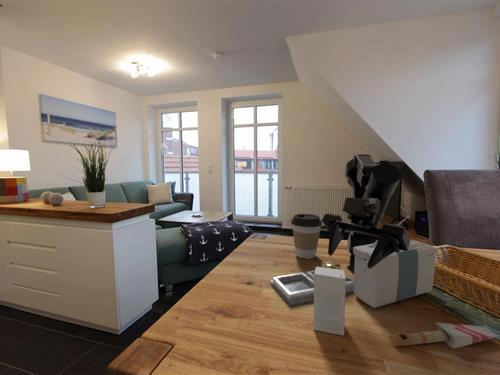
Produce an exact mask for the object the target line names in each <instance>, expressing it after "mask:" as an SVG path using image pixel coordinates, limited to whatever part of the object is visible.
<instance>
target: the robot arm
mask: <svg viewBox="0 0 500 375" xmlns="http://www.w3.org/2000/svg"><path fill="white" fill-rule="evenodd" d="M344 170H345V171H344V177H345V178H346V181H347V184H348V185H349V187H351V188H352V189H351V190H352V197H349V196H348V197H345V199H344V202H343V206H342V210H341V211H342V212H344V213H347V216H346V217H347V219H348V220H350V221H344V219H342V216H341V215H340V214H335V213H324V215H323V216H322V219H320V220H321V221H322V225H324V227H325V228H326V229H327V232H328V235H329V236H328V238H329V239H328V249H327V254H328V256H329V257H332V255H333V254H334V253H335V251H336V249H337V248H338V247H339V245H340V243H341V241H342V239H343V238H344V236H343V235H344V234H345V232H346V231H349V232H350V233H349V234H348V239H347V246H346V247H347V251H348V253H350V256H349V265H346V268H347V269H349V271H351V272H353V273H354V266H355V255H354V251H353V249H354V247H357V246H363V245H369V244H373V243H375V242H376V241H377V240H378V241H377V244H376V246H375V248H374V250H373V253H372V255H371V257H370V259H369V262H368V265H367V267H368V268H369V269H371V268H372V267H374V266H375V265H376V264H377V263H379V262H380V261H381V260H382V259H384V258H385V257H387V256H389V255H390V254H392V253H394V252H400V250H403V251H407V250H408V248H409V245H410V240H411V239H410V236H409V233H408V231H407V229H406V227H405V226H404V225H403V226H402V225H397V224H392V223H384V224H383V225H382V228H379V226H380V223H381V222H384V220H385V217H384V214H385V211H386V209H387V206H388V205H389V202H390V200H391V198H392V195H393V194H394V192H395V190H396V188H397V186H398V185H399V182H400V181H401V179H402V171H401V170H400V169H399V168H398V167H397V166H395V165H394V164H391V163H390V161H389V160H379V161H378V163H376V162H375V161H374V160H373V159H372V157H371V154H367V153H366V154H365V153H363V154H360V153H359V154H357V153H356V154H354V155H353V157H352V159H350V160H349V161H347V162H346V164H345V169H344Z"/></svg>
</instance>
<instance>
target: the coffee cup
mask: <svg viewBox="0 0 500 375" xmlns="http://www.w3.org/2000/svg"><path fill="white" fill-rule="evenodd" d="M290 220H291V221H290V224H291V226H292V233H293V241H294V242H293V243H294V250H295V255H297V256H298V257H297V256H296V257H297V258H299V257H300V258H299V259H301V258H305V259H304V260H312V259H311V258H313V259H315V258H316V255H317V252H318V246H319V245H318V244H319V238H320V233H321V228H322V227H321V226H323V222H322V221H321V220H322V219H320V216H319V215H316V214H312V213H298V214H294V215H293V217H292V218H291V219H290ZM314 257H315V258H314Z"/></svg>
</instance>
